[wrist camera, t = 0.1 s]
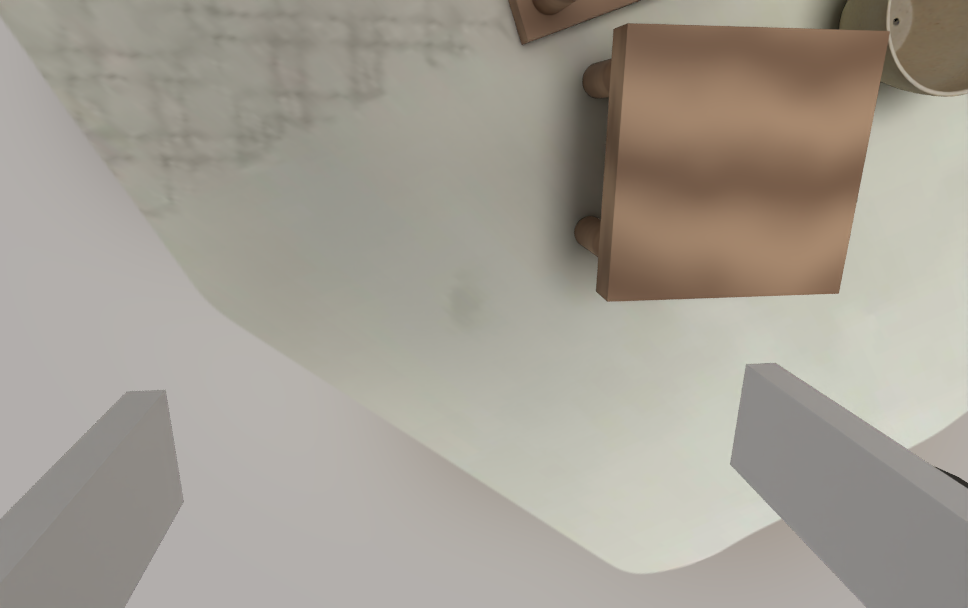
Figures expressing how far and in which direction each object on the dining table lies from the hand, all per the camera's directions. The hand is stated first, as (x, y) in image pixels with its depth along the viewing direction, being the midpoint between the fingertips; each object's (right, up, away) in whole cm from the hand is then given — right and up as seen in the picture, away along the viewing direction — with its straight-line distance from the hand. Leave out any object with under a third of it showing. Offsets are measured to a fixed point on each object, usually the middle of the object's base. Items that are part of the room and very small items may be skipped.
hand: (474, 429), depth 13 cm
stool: (+13, +13, +27) cm, 33 cm away
